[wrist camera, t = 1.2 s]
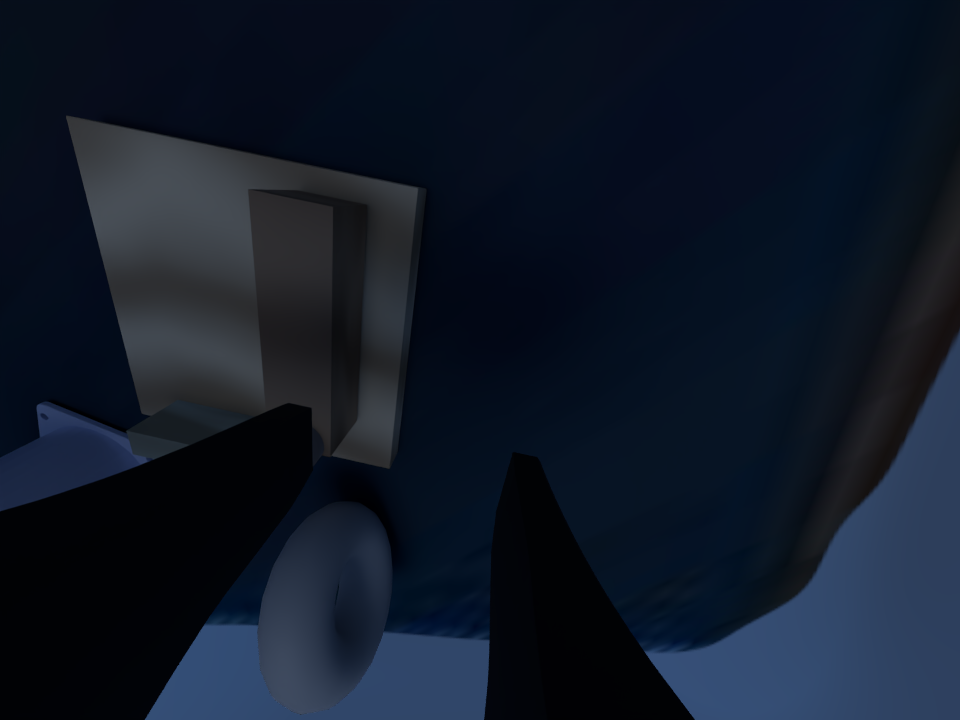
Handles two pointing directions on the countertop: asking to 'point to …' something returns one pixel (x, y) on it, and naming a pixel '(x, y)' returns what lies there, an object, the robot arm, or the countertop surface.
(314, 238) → the stool leg
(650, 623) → the countertop surface
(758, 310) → the countertop surface
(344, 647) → the donut
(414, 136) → the countertop surface
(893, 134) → the countertop surface
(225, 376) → the stool seat
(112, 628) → the robot arm
